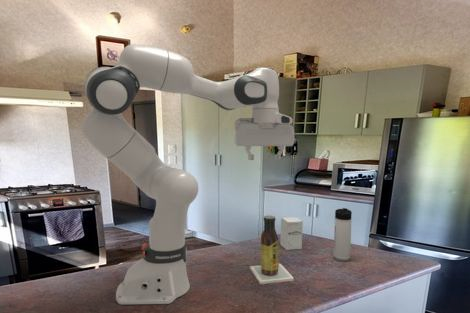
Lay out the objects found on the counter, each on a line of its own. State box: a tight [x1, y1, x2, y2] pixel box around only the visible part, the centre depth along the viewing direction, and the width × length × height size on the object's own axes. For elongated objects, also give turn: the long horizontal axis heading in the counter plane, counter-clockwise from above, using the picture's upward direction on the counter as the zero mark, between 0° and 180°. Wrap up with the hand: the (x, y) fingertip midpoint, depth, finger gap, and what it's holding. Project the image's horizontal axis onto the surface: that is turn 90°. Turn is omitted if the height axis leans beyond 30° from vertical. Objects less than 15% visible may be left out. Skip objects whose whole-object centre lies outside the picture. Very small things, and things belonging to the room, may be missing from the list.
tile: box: [249, 263, 295, 285], centre depth 106 cm, size 12×12×1 cm
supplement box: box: [279, 216, 304, 251], centre depth 132 cm, size 7×7×13 cm
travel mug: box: [333, 207, 352, 262], centre depth 120 cm, size 6×7×20 cm
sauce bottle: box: [260, 215, 280, 275], centre depth 105 cm, size 6×6×20 cm
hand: (264, 159), depth 100 cm, fingers open, 8 cm apart
